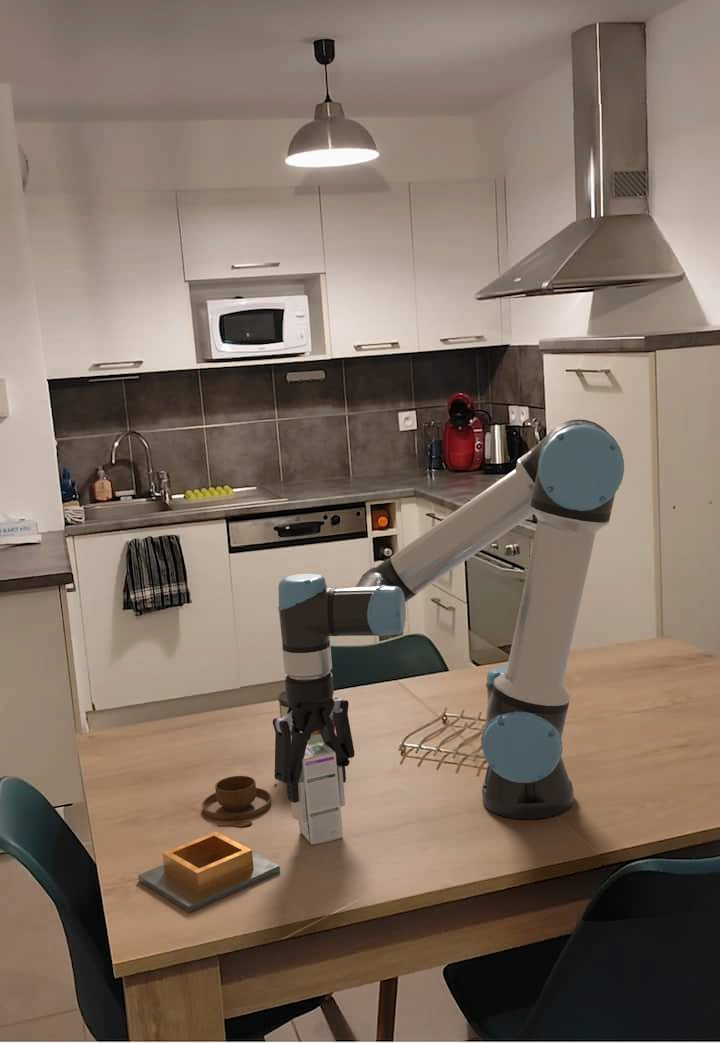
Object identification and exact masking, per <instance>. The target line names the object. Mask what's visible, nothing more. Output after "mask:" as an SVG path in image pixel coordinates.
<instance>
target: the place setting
mask: <svg viewBox="0 0 720 1043" xmlns="http://www.w3.org/2000/svg"><path fill="white" fill-rule="evenodd" d="M273 787H274V788H276V787H278V784H277V783H275V784H273ZM256 796H257V797H260V798H262V799H263V800H265V802H266V803H264V804H263V805H262V806H260V807H258V808H256V809H253V810H250V811H245V812H241V811H243V810H246V809H247V808H249V806H250V804H252V803H253V802H254V801H255V800H256ZM216 802H217V803H218V804H219V805H220V806H221V807H223V808H225V809H226V810H227V811H230V812H239V811H240V812H241V813H231V814H229V813H219V812H218V813H217V812H212V811H210V810H209V808H210V807H211V806H212V805H213V804H215V803H216ZM271 804H272V794H271V793H270V792H269V790H268V791H267V790H266V789H264V788H260V787H257V786H256V780H255V779H254V778H253V777H251V776H246V775H234V776H228V777H225V778H223V779H220V780H218V782H216V783H215V792H214V793H211V794H209V795H208V796H207V797H205V799H203V801H202V809H203V812H204V814H205V815H206V816H208V817H209V818H211V819H213V820H219V821H228V822H230V821H238V822H235V823H227V824H219V825H216V827H217V828H222V827H234V828H245V827H246V828H247V827H248V826H249V827H250V825H252V824H253V821H251V820H247V819H250V818H253V817H255V816H259V815H261V814H263V813H265V811H267V810H268V808H269V807H270V806H271ZM240 820H242V821H240Z"/></svg>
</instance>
